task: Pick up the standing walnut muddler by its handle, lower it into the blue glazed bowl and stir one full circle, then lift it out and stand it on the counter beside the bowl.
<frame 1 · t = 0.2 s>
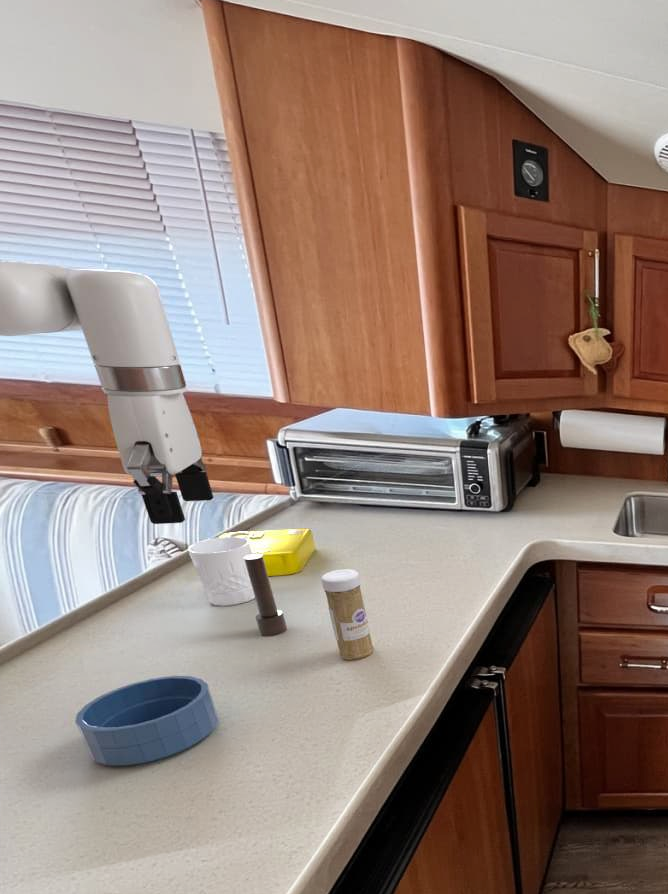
hand: (184, 510, 85), 23 cm above the table, tool pointing down, fingers open, 9 cm apart
white cup: (235, 598, 111), on the table
bowl: (159, 738, 78), on the table
muddler: (273, 631, 102), on the table
sprinkles bottle: (357, 654, 98), on the table
yellow box: (263, 564, 124), on the table
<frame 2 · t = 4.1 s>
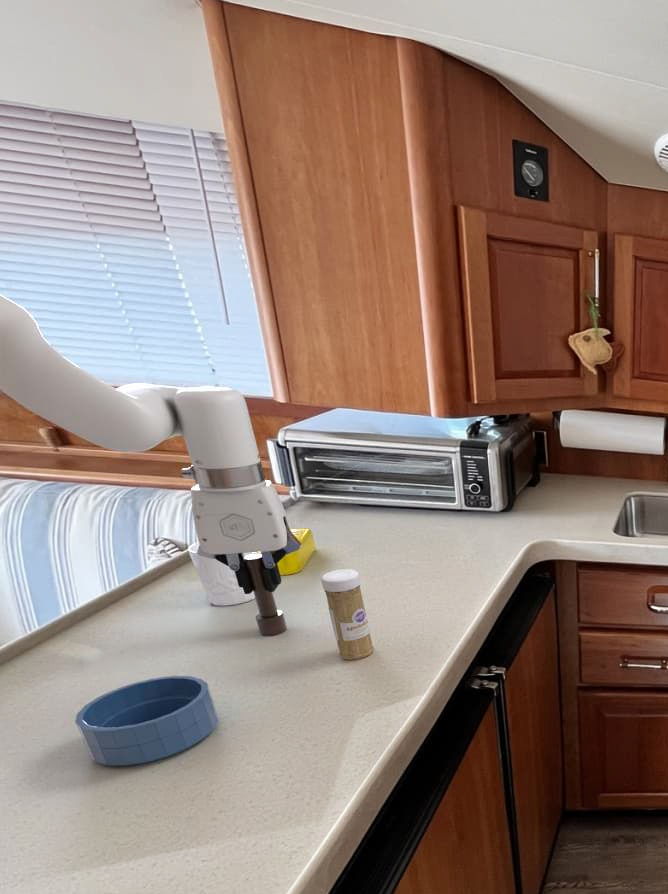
hand: (262, 588, 99), 8 cm above the table, tool pointing down, fingers closed on muddler, 2 cm apart
muddler: (273, 631, 102), on the table, touching gripper
everything else where it was.
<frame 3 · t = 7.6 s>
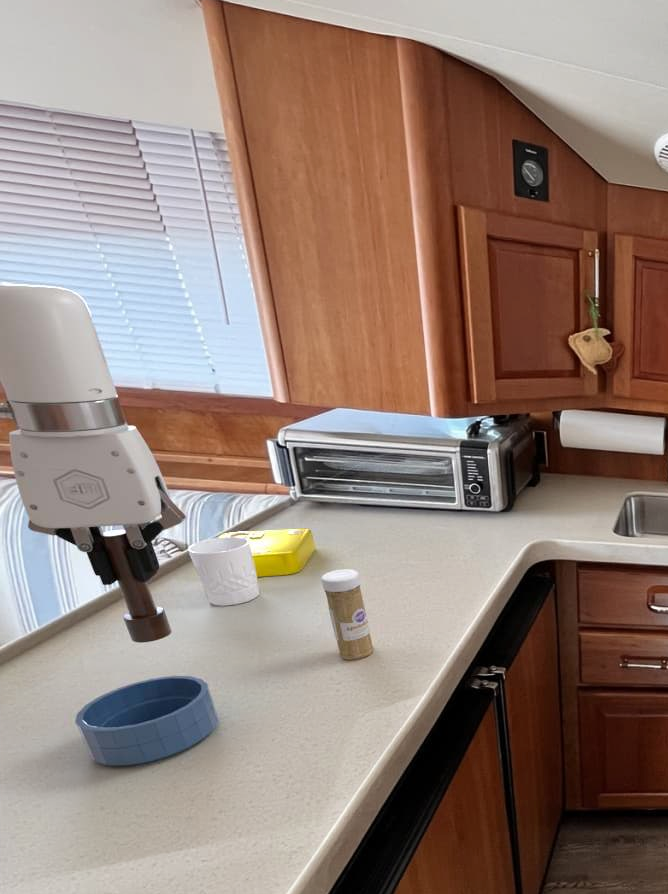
hand: (130, 577, 72), 21 cm above the table, tool pointing down, fingers closed on muddler
muddler: (152, 635, 75), point 13 cm above the table, touching gripper
everything else where it was.
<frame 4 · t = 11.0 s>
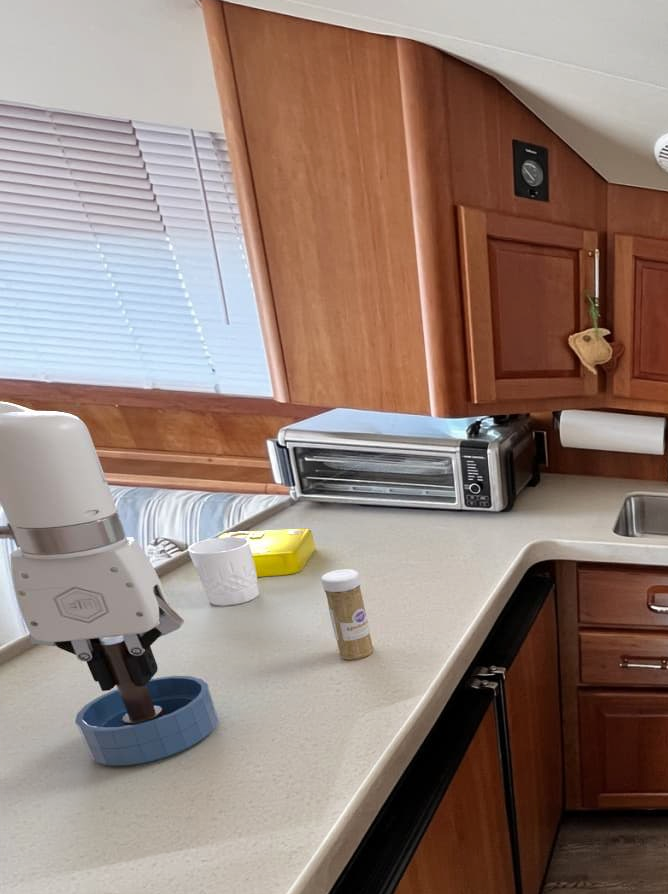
hand: (129, 681, 73), 9 cm above the table, tool pointing down, fingers closed on muddler, 2 cm apart
muddler: (150, 734, 76), point 1 cm above the table, touching gripper
everything else where it was.
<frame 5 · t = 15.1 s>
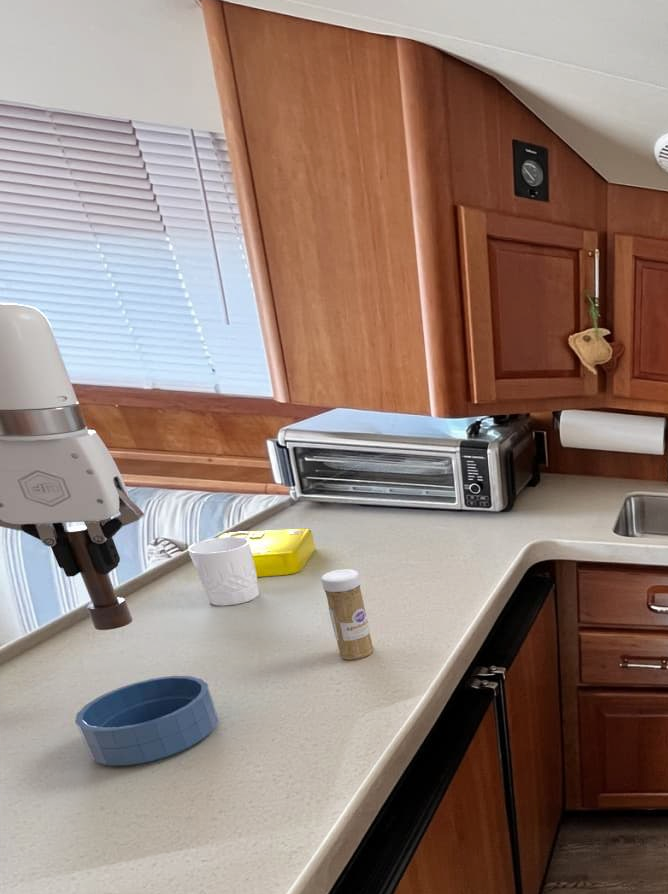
hand: (93, 570, 78), 18 cm above the table, tool pointing down, fingers closed on muddler
muddler: (114, 623, 81), point 11 cm above the table, touching gripper
everything else where it was.
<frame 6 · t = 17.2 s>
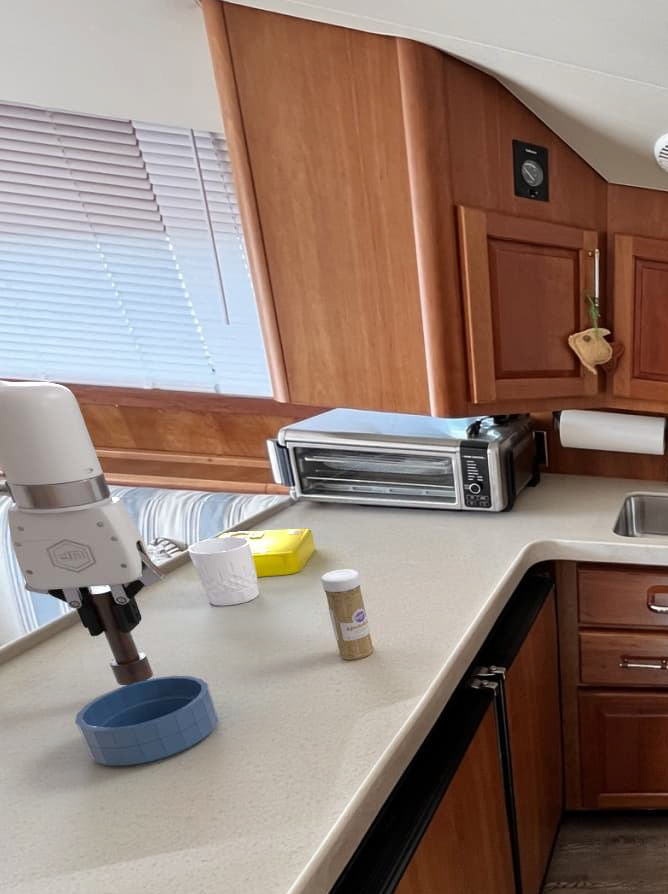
hand: (116, 628, 81), 10 cm above the table, tool pointing down, fingers closed on muddler, 2 cm apart
muddler: (135, 678, 84), point 2 cm above the table, touching gripper
everything else where it was.
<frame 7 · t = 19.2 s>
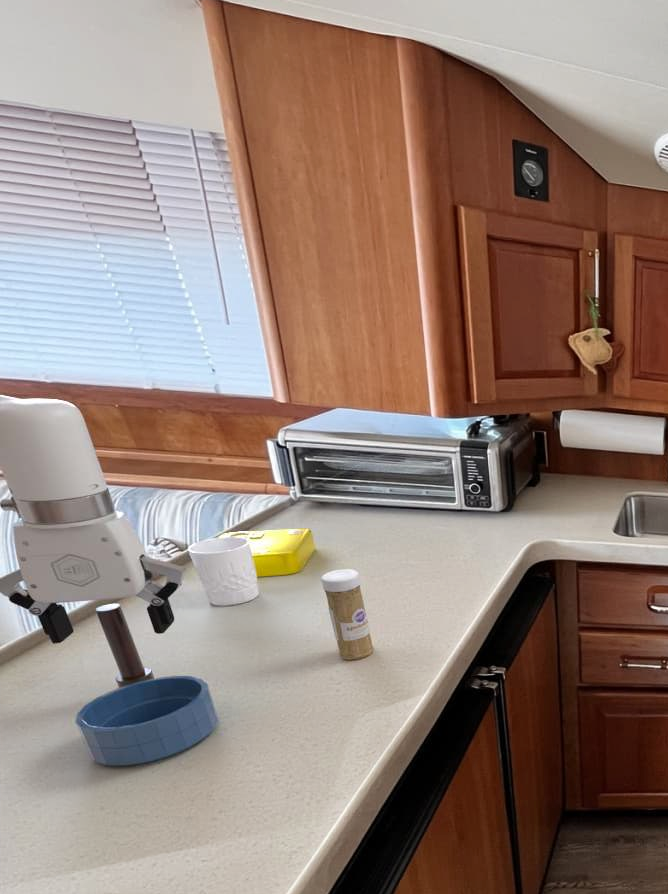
hand: (115, 633, 82), 9 cm above the table, tool pointing down, fingers open, 9 cm apart
muddler: (140, 693, 85), on the table
everything else where it was.
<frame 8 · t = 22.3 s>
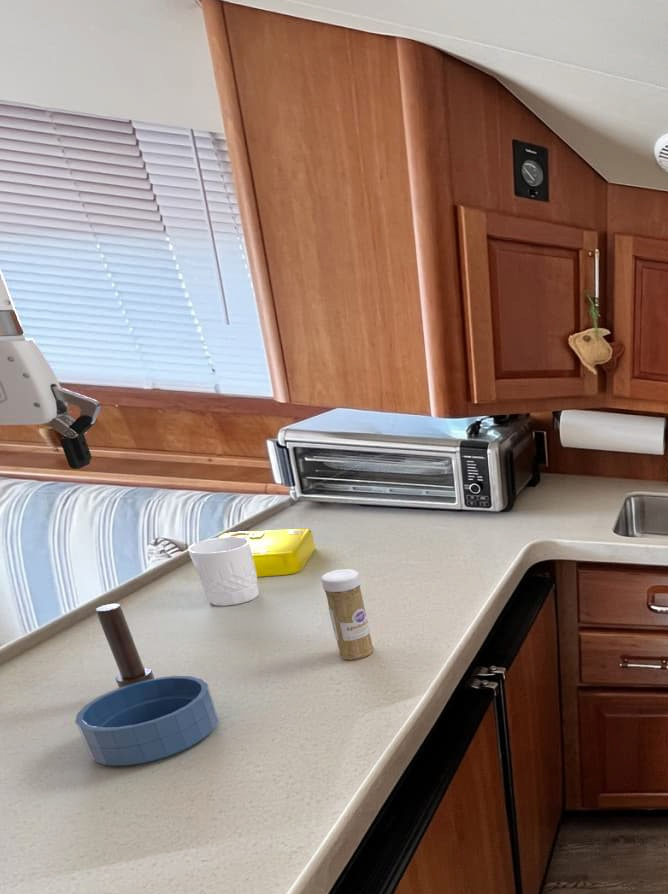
hand: (29, 467, 81), 28 cm above the table, tool pointing down, fingers open, 9 cm apart
nothing on the table moved.
at the end: muddler 0.1 cm from the target spot on the table beside the bowl, on the table; muddler tilted 0°; muddler moved 18.6 cm from its start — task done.
